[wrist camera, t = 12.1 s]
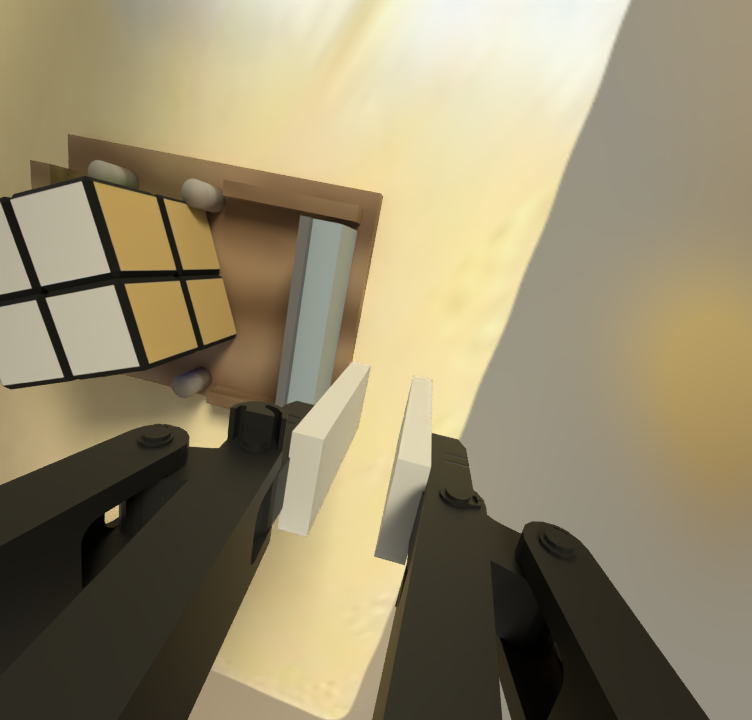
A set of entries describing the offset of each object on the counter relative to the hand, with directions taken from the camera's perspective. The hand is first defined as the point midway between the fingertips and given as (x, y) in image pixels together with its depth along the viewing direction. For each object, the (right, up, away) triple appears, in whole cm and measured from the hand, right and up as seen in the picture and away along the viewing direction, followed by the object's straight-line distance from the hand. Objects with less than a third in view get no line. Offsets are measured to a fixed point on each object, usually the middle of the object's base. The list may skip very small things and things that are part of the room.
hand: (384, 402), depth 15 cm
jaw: (-4, +5, +13) cm, 15 cm away
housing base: (-13, +8, +15) cm, 22 cm away
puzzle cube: (-17, +8, +15) cm, 24 cm away
